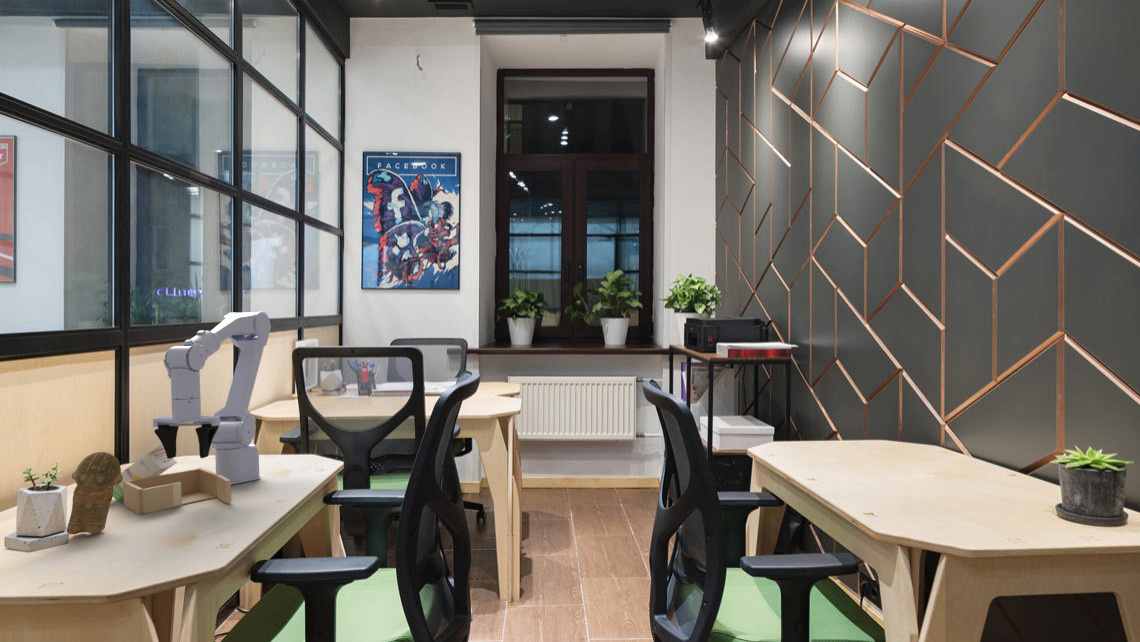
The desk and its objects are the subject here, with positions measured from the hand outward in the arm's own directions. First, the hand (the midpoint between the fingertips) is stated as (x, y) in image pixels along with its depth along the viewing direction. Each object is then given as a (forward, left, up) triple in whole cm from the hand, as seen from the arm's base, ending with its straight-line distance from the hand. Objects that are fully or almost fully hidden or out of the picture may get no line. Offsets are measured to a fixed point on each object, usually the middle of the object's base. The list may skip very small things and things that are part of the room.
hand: (187, 457), depth 149 cm
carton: (+3, -1, -10) cm, 10 cm away
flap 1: (+7, +5, -9) cm, 12 cm away
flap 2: (-4, +8, -9) cm, 13 cm away
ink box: (+10, -15, -8) cm, 20 cm away
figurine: (+20, +10, -10) cm, 24 cm away
